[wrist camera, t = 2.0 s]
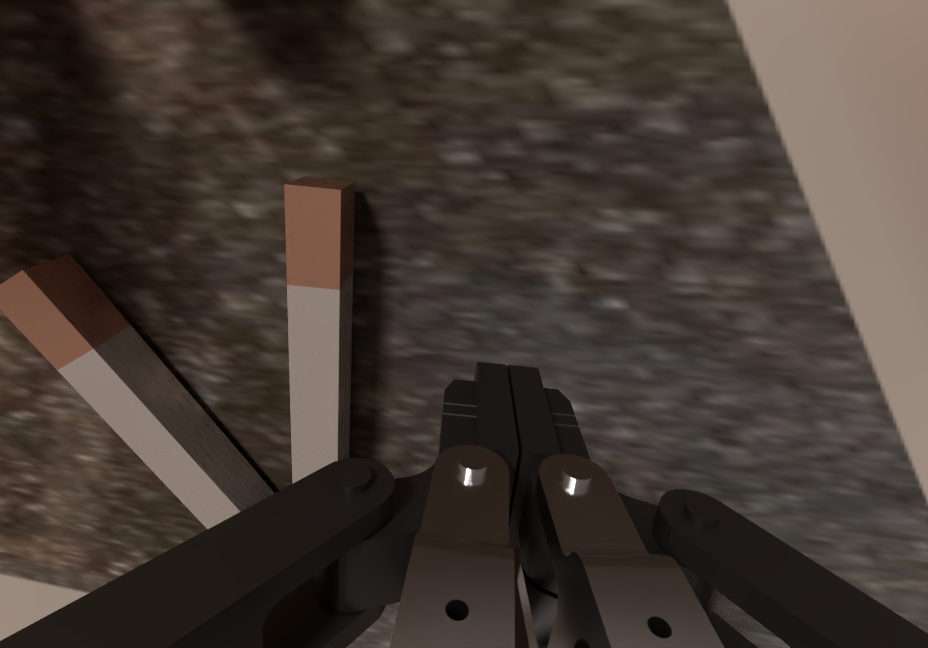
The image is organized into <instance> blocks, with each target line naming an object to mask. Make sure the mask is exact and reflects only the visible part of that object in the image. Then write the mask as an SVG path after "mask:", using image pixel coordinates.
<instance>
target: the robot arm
mask: <svg viewBox="0 0 928 648" xmlns="http://www.w3.org/2000/svg"><path fill="white" fill-rule="evenodd" d="M574 415H575V414H574V411H573V408H572V405H571V402H570V401H569V400H568V399H567V398H566V397H565V396H564V395H563V394H562V393H561V392H560V391H559V390H558V389H548V388H543V384H542V380H541V376H540V373H539V369H538V368H534V367H524V366H514V365H508V367H507V365H503V364H493V363H483V362H477V365H476V371H475V379H474V381H466V380H455V379H454V380H453V381H452V383H451V384H450V385H449V386H448V387H447V388H446V389H445V394H444V403H443V413H442V422H441V432H440V441H439V452H438V457H437V459H436V461H435V463H434V465H433V466H432V467H430V468H429V469H428V470H426V471H424V472H422V473H420V474H417V475H414V476H410V477H404V478H397V479H394V477H393V475H392V473H391V472H390V471H389V469H388V468H386V467H385V466H384V465H382V464H380V463H379V462H376V461H373V460H370V459H364V458H347V459H342V460H338V461H335V462H333V463H330V464H328V465H326V466H325V467H323V468H321V469H319V470H317V471H315V472H313V473H312V474H310V475H308V476H306V477H304V478H302V479H300V480H299V481H297V482H295V483H293V484H291V485H289V486H287V487H286V488H284V489H282V490H280V491H278V492H276V493H274V494H273V495H271V496H269V497H267V498H265V499H263V500H261V501H260V502H258V503H256V504H254V505H252V506H250V507H248V508H247V509H245V510H243V511H241V512H239V513H237V514H235V515H234V516H232V517H230V518H228V519H226V520H224V521H222V522H221V523H219V524H217V525H215V526H213V527H211V528H209V529H208V530H206V531H204V532H202V533H200V534H198V535H196V536H195V537H193V538H191V539H189V540H187V541H185V542H183V543H182V544H180V545H178V546H176V547H174V548H172V549H170V550H169V551H167V552H165V553H163V554H161V555H159V556H157V557H156V558H154V559H152V560H150V561H148V562H146V563H144V564H143V565H141V566H139V567H137V568H135V569H133V570H131V571H130V572H128V573H126V574H124V575H122V576H120V577H118V578H117V579H115V580H113V581H111V582H109V583H107V584H105V585H104V586H102V587H100V588H98V589H96V590H94V591H92V592H91V593H89V594H87V595H85V596H83V597H81V598H80V599H78V600H76V601H74V602H72V603H70V604H68V605H67V606H65V607H63V608H61V609H59V610H57V611H55V612H53V613H52V614H50V615H48V616H46V617H44V618H42V619H40V620H39V621H37V622H35V623H33V624H31V625H29V626H28V627H26V628H24V629H22V630H20V631H18V632H16V633H15V634H13V635H11V636H9V637H7V638H5V639H3V640H2V641H0V648H346V647H347V646H348V645H349V644H351V643H352V642H353V641H354V640H355V639H356V638H357V637H358V636H360V635H361V634H362V633H363V632H364V631H365V630H366V629H367V628H369V627H370V626H371V625H372V624H373V623H374V622H375V621H376V620H377V619H378V618H379V617H380V616H381V614H382V613H383V611H384V608H385V606H386V605H388V604H392V603H397V602H400V603H399V608H398V612H397V617H396V621H395V625H394V630H393V634H392V638H391V643H390V647H389V648H515V579H514V548H513V547H515V548H520V553H521V561H520V567H519V572H518V578H517V582H518V589H519V594H520V599H521V605H522V610H523V615H524V621H525V626H526V631H527V637H528V642H529V647H530V648H758V647H756V646H755V645H754V644H753V643H751V642H750V641H749V640H748V639H746V638H745V637H744V636H743V635H741V634H740V633H739V632H738V631H736V630H735V629H734V628H733V627H731V626H730V625H729V624H728V623H726V622H725V621H724V620H723V619H721V618H720V617H719V616H718V615H716V614H715V613H714V612H713V611H714V608H715V606H716V603H717V601H718V599H719V596H720V594H723V595H724V596H725V597H727V598H728V599H729V600H730V601H732V602H733V603H734V604H736V605H737V606H738V607H740V608H741V609H742V610H744V611H745V612H746V613H747V614H749V615H750V616H751V617H753V618H754V619H755V620H757V621H758V622H759V623H761V624H762V625H763V626H764V627H766V628H767V629H768V630H770V631H771V632H772V633H774V634H775V635H776V636H778V637H779V638H780V639H781V640H783V641H784V642H785V643H786V644H787V645H788V646H789V647H790V648H928V633H926V632H925V631H923V630H922V629H920V628H918V627H917V626H915V625H914V624H912V623H910V622H909V621H907V620H906V619H904V618H903V617H901V616H899V615H898V614H896V613H895V612H893V611H892V610H890V609H888V608H887V607H885V606H884V605H882V604H881V603H879V602H877V601H876V600H874V599H873V598H871V597H869V596H868V595H866V594H865V593H863V592H862V591H860V590H858V589H857V588H855V587H854V586H852V585H851V584H849V583H847V582H846V581H844V580H843V579H841V578H840V577H838V576H836V575H835V574H833V573H832V572H830V571H828V570H827V569H825V568H824V567H822V566H821V565H819V564H817V563H816V562H814V561H813V560H811V559H810V558H808V557H806V556H805V555H803V554H802V553H800V552H799V551H797V550H795V549H794V548H792V547H791V546H789V545H787V544H786V543H784V542H783V541H781V540H780V539H778V538H776V537H775V536H773V535H772V534H770V533H769V532H767V531H765V530H764V529H762V528H761V527H759V526H758V525H756V524H754V523H753V522H751V521H750V520H748V519H746V518H745V517H743V516H742V515H740V514H739V513H737V512H735V511H734V510H732V509H731V508H729V507H728V506H726V505H724V504H723V503H721V502H720V501H718V500H716V499H714V498H712V497H710V496H708V495H706V494H703V493H700V492H697V491H692V490H686V489H676V490H671V491H668V492H666V493H665V494H664V495H663V496H662V497H661V499H660V502H659V505H658V506H656V505H653V504H650V503H647V502H644V501H640V500H637V499H634V498H631V497H628V496H626V495H624V494H621V493H619V492H618V491H617V489H616V487H615V485H614V483H613V481H612V479H611V477H610V476H609V474H608V473H607V472H606V471H605V470H604V469H603V468H602V467H601V466H599V465H598V464H596V463H595V462H593V461H591V460H590V458H589V455H588V452H587V449H586V446H585V443H584V440H583V437H582V434H581V432H580V429H579V428H578V423H577V420H576V417H574Z"/></svg>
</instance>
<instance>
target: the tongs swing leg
mask: <svg viewBox="0 0 928 648" xmlns="http://www.w3.org/2000/svg"><path fill="white" fill-rule="evenodd" d="M284 190H285V226H286V263H287V299H288V336H289V372H290V409H291V445H292V481H293V483H295V482H297V481H299V480H300V479H302V478H304V477H306V476H308V475H310V474H312V473H313V472H315V471H317V470H319V469H321V468H323V467H325V466H326V465H328V464H330V463H333V462H335V461H338V460H342V459H347V458H349V441H350V396H351V351H352V306H353V261H354V216H355V182H353V181H344V180H334V179H325V178H315V177H306V176H305V177H302V178H300V179H297V180H294V181H291V182H289V183H286V184H284Z"/></svg>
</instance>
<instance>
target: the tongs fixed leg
mask: <svg viewBox="0 0 928 648" xmlns="http://www.w3.org/2000/svg"><path fill="white" fill-rule="evenodd" d="M0 310H1V311H2V312H3V313H4V314H5V315H6V316H7V317H8V318H9V319H10V321H11V322H12V323H13V324H14V325H15V326H16V327H17V328H18V329H19V330H20V331H21V332H22V333H23V334H24V335H25V336H26V337H27V339H28V340H29V341H30V342H31V343H32V344H33V345H34V346H35V347H36V348H37V349H38V350H39V351H40V352H41V353H42V354H43V355H44V357H45V358H46V359H47V360H48V361H49V362H50V363H51V364H52V365H53V366H54V367H55V368H56V369H57V370H58V371H59V372H60V373H61V375H62V376H63V377H64V378H65V379H66V380H67V381H68V382H69V383H70V384H71V385H72V386H73V387H74V388H75V389H76V390H77V391H78V393H79V394H80V395H81V396H82V397H83V398H84V399H85V400H86V401H87V402H88V403H89V404H90V405H91V406H92V407H93V408H94V409H95V411H96V412H97V413H98V414H99V415H100V416H101V417H102V418H103V419H104V420H105V421H106V422H107V423H108V424H109V425H110V426H111V427H112V429H113V430H114V431H115V432H116V433H117V434H118V435H119V436H120V437H121V438H122V439H123V440H124V441H125V442H126V443H127V444H128V445H129V447H130V448H131V449H132V450H133V451H134V452H135V453H136V454H137V455H138V456H139V457H140V458H141V459H142V460H143V461H144V462H145V463H146V465H147V466H148V467H149V468H150V469H151V470H152V471H153V472H154V473H155V474H156V475H157V476H158V477H159V478H160V479H161V480H162V481H163V483H164V484H165V485H166V486H167V487H168V488H169V489H170V490H171V491H172V492H173V493H174V494H175V495H176V496H177V497H178V498H179V499H180V501H181V502H182V503H183V504H184V505H185V506H186V507H187V508H188V509H189V510H190V511H191V512H192V513H193V514H194V515H195V516H196V517H197V519H198V520H199V521H200V522H201V523H202V524H203V525H204V526H205V527H206V528H207V529H209V528H211V527H213V526H215V525H217V524H219V523H221V522H222V521H224V520H226V519H228V518H230V517H232V516H234V515H235V514H237V513H239V512H241V511H243V510H245V509H247V508H248V507H250V506H252V505H254V504H256V503H258V502H260V501H261V500H263V499H265V498H267V497H269V496H271V495H273V494H274V492H273V491H272V489H271V488H270V487H269V486H268V485H267V484H266V482H265V481H264V480H263V479H262V478H261V477H260V475H259V474H258V473H257V472H256V471H255V470H254V468H253V467H252V466H251V465H250V464H249V463H248V461H247V460H246V459H245V458H244V457H243V456H242V454H241V453H240V452H239V451H238V450H237V449H236V447H235V446H234V445H233V444H232V443H231V442H230V440H229V439H228V438H227V437H226V436H225V435H224V433H223V432H222V431H221V430H220V429H219V427H218V426H217V425H216V424H215V423H214V422H213V420H212V419H211V418H210V417H209V416H208V415H207V413H206V412H205V411H204V410H203V409H202V408H201V406H200V405H199V404H198V403H197V402H196V401H195V399H194V398H193V397H192V396H191V395H190V394H189V392H188V391H187V390H186V389H185V388H184V387H183V385H182V384H181V383H180V382H179V381H178V380H177V378H176V377H175V376H174V375H173V374H172V373H171V371H170V370H169V369H168V368H167V367H166V366H165V364H164V363H163V362H162V361H161V360H160V359H159V357H158V356H157V355H156V354H155V353H154V352H153V350H152V349H151V348H150V347H149V346H148V345H147V343H146V342H145V341H144V340H143V339H142V338H141V336H140V335H139V334H138V333H137V332H136V331H135V329H134V328H133V327H132V326H131V325H130V324H129V322H128V321H127V320H126V319H125V318H124V317H123V315H122V314H121V313H120V312H119V311H118V310H117V308H116V307H115V306H114V305H113V304H112V303H111V301H110V300H109V299H108V298H107V297H106V295H105V294H104V293H103V292H102V291H101V290H100V288H99V287H98V286H97V285H96V284H95V283H94V281H93V280H92V279H91V278H90V277H89V276H88V274H87V273H86V272H85V271H84V270H83V269H82V267H81V266H80V265H79V264H78V263H77V262H76V260H75V259H74V258H73V257H72V256H71V255H70V254H67V255H64V256H61V257H59V258H56V259H53V260H50V261H47V262H44V263H41V264H38V265H35V266H32V267H30V268H27V269H24V270H22V271H20V272H19V273H17V274H16V275H14V276H13V277H11V278H10V279H8V280H6V281H5V282H3V283H2V284H0Z"/></svg>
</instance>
